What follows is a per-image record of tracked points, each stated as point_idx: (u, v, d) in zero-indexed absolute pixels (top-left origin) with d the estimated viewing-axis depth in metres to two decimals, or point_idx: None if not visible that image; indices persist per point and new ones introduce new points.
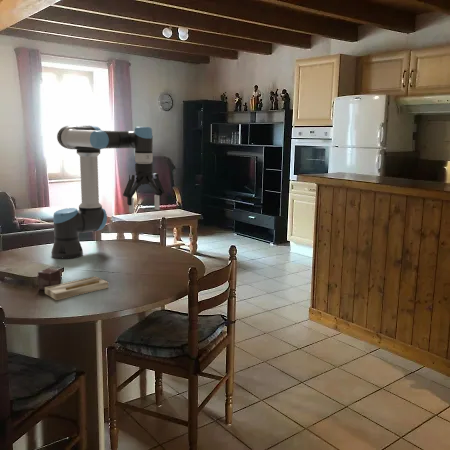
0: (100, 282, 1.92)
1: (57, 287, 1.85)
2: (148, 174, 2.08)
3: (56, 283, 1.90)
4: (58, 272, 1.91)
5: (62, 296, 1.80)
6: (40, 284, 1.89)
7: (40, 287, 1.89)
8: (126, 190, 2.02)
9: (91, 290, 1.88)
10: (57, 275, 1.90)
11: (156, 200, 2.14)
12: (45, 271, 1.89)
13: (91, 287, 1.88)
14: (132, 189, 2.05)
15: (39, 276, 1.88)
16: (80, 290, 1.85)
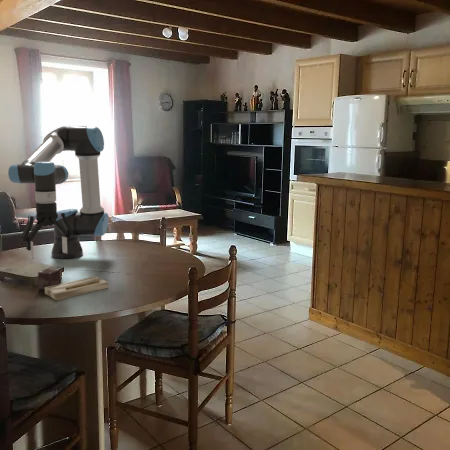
0: (100, 282, 1.92)
1: (57, 287, 1.85)
2: (51, 214, 1.85)
3: (56, 283, 1.90)
4: (58, 272, 1.91)
5: (62, 296, 1.80)
6: (40, 284, 1.89)
7: (40, 287, 1.89)
8: (23, 233, 1.79)
9: (91, 290, 1.88)
10: (57, 275, 1.90)
11: (63, 242, 1.91)
12: (45, 271, 1.89)
13: (91, 287, 1.88)
14: (31, 232, 1.81)
15: (39, 276, 1.88)
16: (80, 290, 1.85)
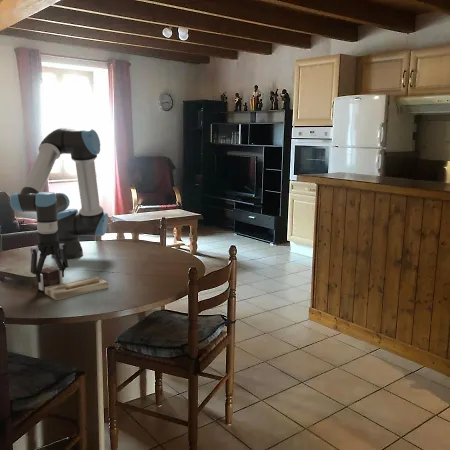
0: (100, 282, 1.92)
1: (57, 287, 1.85)
2: (54, 242, 1.87)
3: (55, 282, 1.90)
4: (57, 271, 1.91)
5: (62, 296, 1.80)
6: None
7: None
8: (32, 267, 1.84)
9: (91, 290, 1.88)
10: (56, 274, 1.90)
11: (59, 276, 1.92)
12: (44, 270, 1.89)
13: (91, 287, 1.88)
14: (39, 264, 1.86)
15: None
16: (80, 290, 1.85)
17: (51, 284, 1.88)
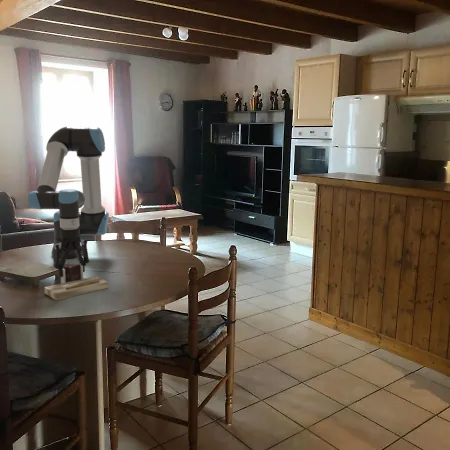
0: (100, 282, 1.92)
1: (57, 287, 1.85)
2: (76, 238, 1.94)
3: (76, 277, 1.96)
4: (78, 266, 1.97)
5: (62, 296, 1.80)
6: None
7: None
8: (55, 262, 1.90)
9: (91, 290, 1.88)
10: (77, 269, 1.96)
11: (80, 270, 1.98)
12: (66, 265, 1.96)
13: (91, 287, 1.88)
14: (61, 259, 1.92)
15: None
16: (80, 290, 1.85)
17: (73, 278, 1.95)
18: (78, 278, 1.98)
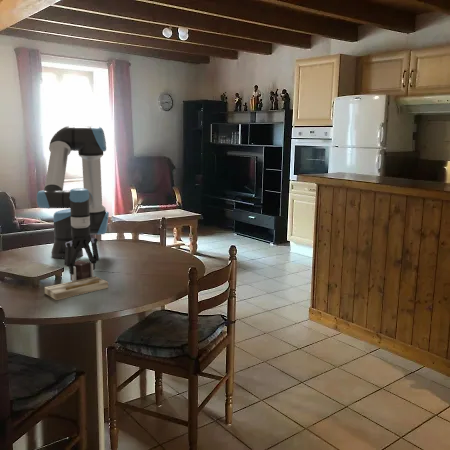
0: (100, 282, 1.92)
1: (57, 287, 1.85)
2: (86, 236, 1.97)
3: (87, 274, 2.00)
4: (88, 264, 2.00)
5: (62, 296, 1.80)
6: None
7: (71, 278, 1.99)
8: (66, 260, 1.93)
9: (91, 290, 1.88)
10: (87, 267, 2.00)
11: (90, 268, 2.01)
12: (76, 263, 1.99)
13: (91, 287, 1.88)
14: (72, 257, 1.95)
15: None
16: (80, 290, 1.85)
17: (83, 276, 1.98)
18: (88, 276, 2.01)
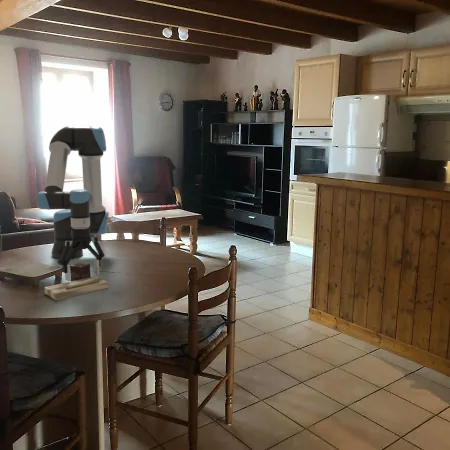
0: (100, 282, 1.92)
1: (57, 287, 1.85)
2: (85, 239, 1.97)
3: (87, 276, 2.00)
4: (88, 266, 2.00)
5: (62, 296, 1.80)
6: (72, 277, 1.99)
7: (72, 280, 1.99)
8: (61, 258, 1.91)
9: (91, 290, 1.88)
10: (87, 269, 2.00)
11: (96, 264, 2.03)
12: (76, 265, 1.99)
13: (91, 287, 1.88)
14: (68, 256, 1.94)
15: (71, 269, 1.98)
16: (80, 290, 1.85)
17: (83, 278, 1.98)
18: (88, 277, 2.01)
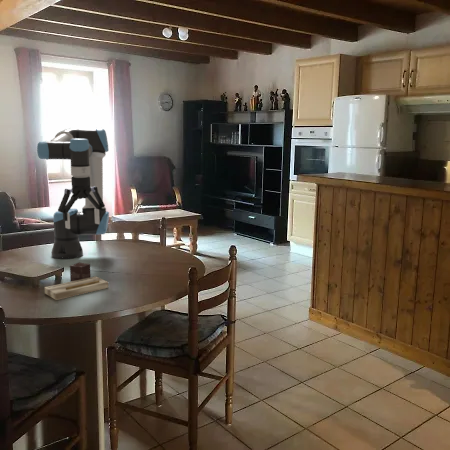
0: (100, 282, 1.92)
1: (57, 287, 1.85)
2: (85, 188, 1.99)
3: (87, 276, 2.00)
4: (88, 266, 2.00)
5: (62, 296, 1.80)
6: (72, 277, 1.99)
7: (72, 280, 1.99)
8: (61, 205, 1.94)
9: (91, 290, 1.88)
10: (87, 269, 2.00)
11: (96, 214, 2.06)
12: (76, 265, 1.99)
13: (91, 287, 1.88)
14: (68, 204, 1.96)
15: (71, 269, 1.98)
16: (80, 290, 1.85)
17: (83, 278, 1.98)
18: (88, 277, 2.01)
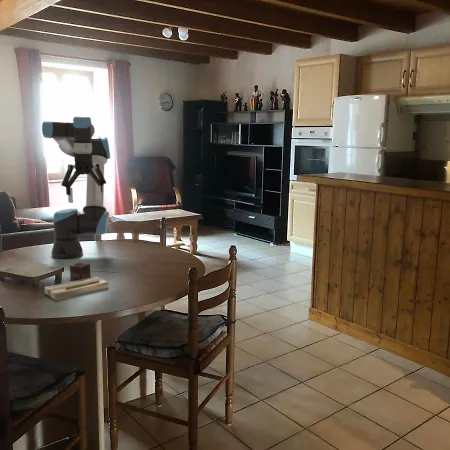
0: (100, 282, 1.92)
1: (57, 287, 1.85)
2: (88, 164, 2.08)
3: (87, 276, 2.00)
4: (88, 266, 2.00)
5: (62, 296, 1.80)
6: (72, 277, 1.99)
7: (72, 280, 1.99)
8: (64, 180, 2.03)
9: (91, 290, 1.88)
10: (87, 269, 2.00)
11: (98, 190, 2.14)
12: (76, 265, 1.99)
13: (91, 287, 1.88)
14: (71, 179, 2.05)
15: (71, 269, 1.98)
16: (80, 290, 1.85)
17: (83, 278, 1.98)
18: (88, 277, 2.01)
